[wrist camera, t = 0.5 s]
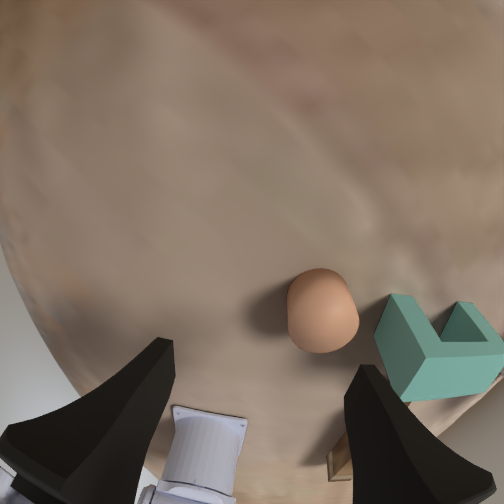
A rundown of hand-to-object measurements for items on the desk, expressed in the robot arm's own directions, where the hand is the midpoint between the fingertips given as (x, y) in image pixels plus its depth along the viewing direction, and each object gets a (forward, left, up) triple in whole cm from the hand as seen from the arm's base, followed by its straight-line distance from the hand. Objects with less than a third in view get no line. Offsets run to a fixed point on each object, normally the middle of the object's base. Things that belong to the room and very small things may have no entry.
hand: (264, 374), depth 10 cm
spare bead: (-2, -4, -10) cm, 11 cm away
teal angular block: (-3, -14, -10) cm, 17 cm away
